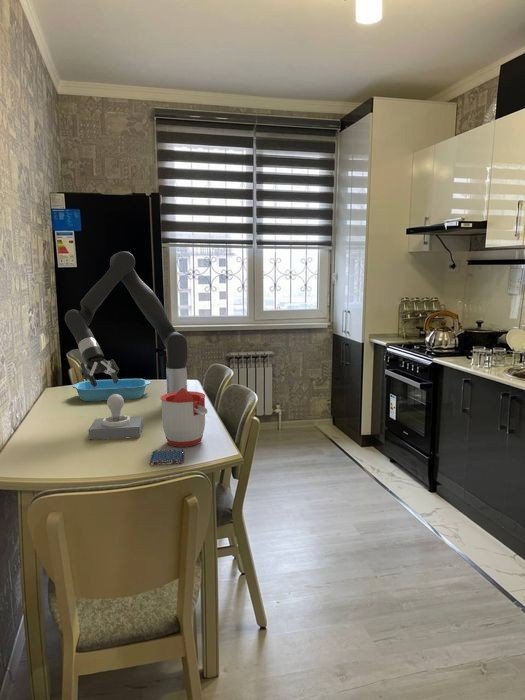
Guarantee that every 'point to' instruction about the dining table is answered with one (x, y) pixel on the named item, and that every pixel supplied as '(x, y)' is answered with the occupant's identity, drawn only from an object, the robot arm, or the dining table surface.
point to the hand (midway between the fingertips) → (106, 383)
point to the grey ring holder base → (116, 427)
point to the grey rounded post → (115, 406)
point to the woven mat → (167, 456)
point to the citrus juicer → (183, 417)
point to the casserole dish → (111, 389)
